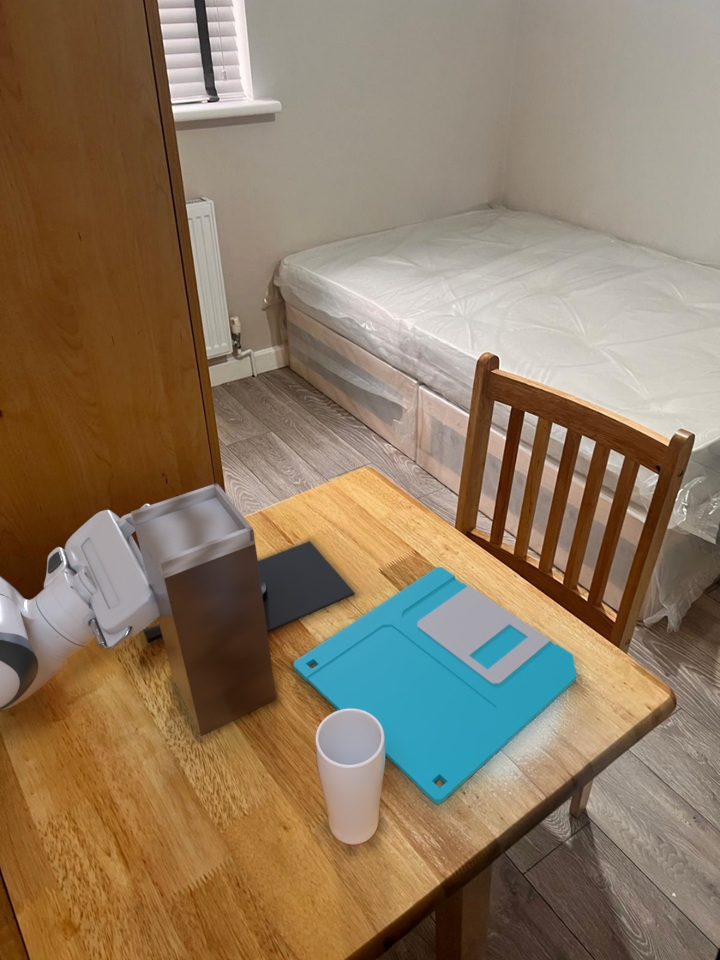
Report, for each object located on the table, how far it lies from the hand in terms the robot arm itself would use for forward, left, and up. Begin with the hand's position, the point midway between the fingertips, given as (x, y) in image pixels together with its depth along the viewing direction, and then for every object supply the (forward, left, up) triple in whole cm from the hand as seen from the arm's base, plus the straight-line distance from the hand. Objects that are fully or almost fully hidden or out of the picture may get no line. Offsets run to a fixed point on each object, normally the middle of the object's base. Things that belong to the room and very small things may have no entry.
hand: (164, 527), depth 92 cm
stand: (0, -13, -18) cm, 22 cm away
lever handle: (+2, +1, -18) cm, 18 cm away
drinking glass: (+5, -37, -18) cm, 41 cm away
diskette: (+25, -25, -18) cm, 40 cm away
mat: (+11, 0, -18) cm, 21 cm away
